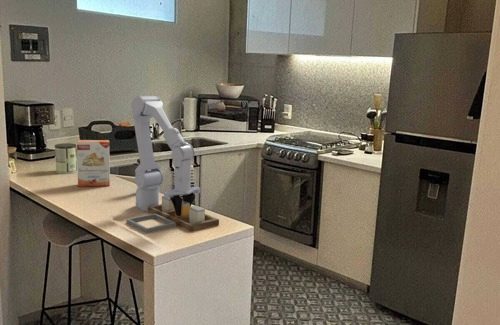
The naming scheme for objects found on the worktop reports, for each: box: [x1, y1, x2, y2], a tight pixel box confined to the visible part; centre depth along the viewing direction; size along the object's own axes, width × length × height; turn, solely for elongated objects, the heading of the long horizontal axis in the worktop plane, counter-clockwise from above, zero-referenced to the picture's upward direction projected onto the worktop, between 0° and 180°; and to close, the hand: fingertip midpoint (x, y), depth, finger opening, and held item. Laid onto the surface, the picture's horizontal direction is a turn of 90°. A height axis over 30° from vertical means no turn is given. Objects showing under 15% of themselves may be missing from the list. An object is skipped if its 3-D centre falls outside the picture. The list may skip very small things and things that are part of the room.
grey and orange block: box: [175, 201, 190, 218], centre depth 175 cm, size 5×3×6 cm, turn 42°
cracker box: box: [76, 139, 111, 188], centre depth 220 cm, size 14×6×21 cm, turn 105°
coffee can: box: [54, 142, 78, 175], centre depth 247 cm, size 10×10×14 cm
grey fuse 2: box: [189, 205, 206, 224], centre depth 168 cm, size 5×3×6 cm, turn 42°
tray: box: [125, 213, 177, 234], centre depth 167 cm, size 14×12×2 cm
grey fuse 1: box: [161, 195, 174, 212], centre depth 181 cm, size 5×3×6 cm, turn 42°
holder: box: [147, 203, 220, 232], centre depth 175 cm, size 28×12×3 cm, turn 42°
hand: (182, 214), depth 175 cm, fingers closed on grey and orange block, 3 cm apart
